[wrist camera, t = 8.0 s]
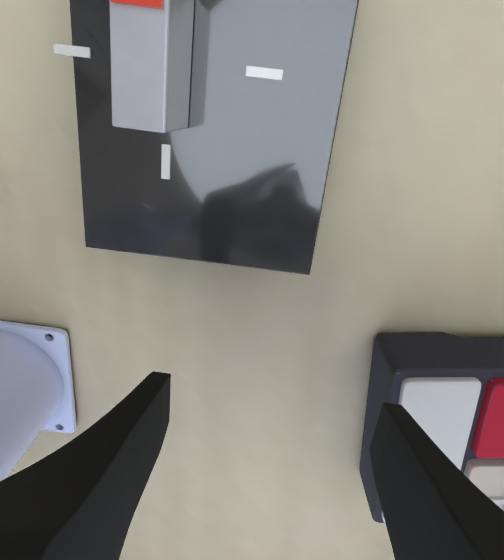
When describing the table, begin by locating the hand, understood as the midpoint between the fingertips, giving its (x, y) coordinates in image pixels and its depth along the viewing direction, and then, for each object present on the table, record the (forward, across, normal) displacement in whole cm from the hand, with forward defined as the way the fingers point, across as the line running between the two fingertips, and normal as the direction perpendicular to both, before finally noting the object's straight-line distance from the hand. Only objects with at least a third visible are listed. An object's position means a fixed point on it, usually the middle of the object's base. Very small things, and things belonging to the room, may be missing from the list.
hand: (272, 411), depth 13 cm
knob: (+6, +6, -11) cm, 13 cm away
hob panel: (+9, +4, -8) cm, 13 cm away
